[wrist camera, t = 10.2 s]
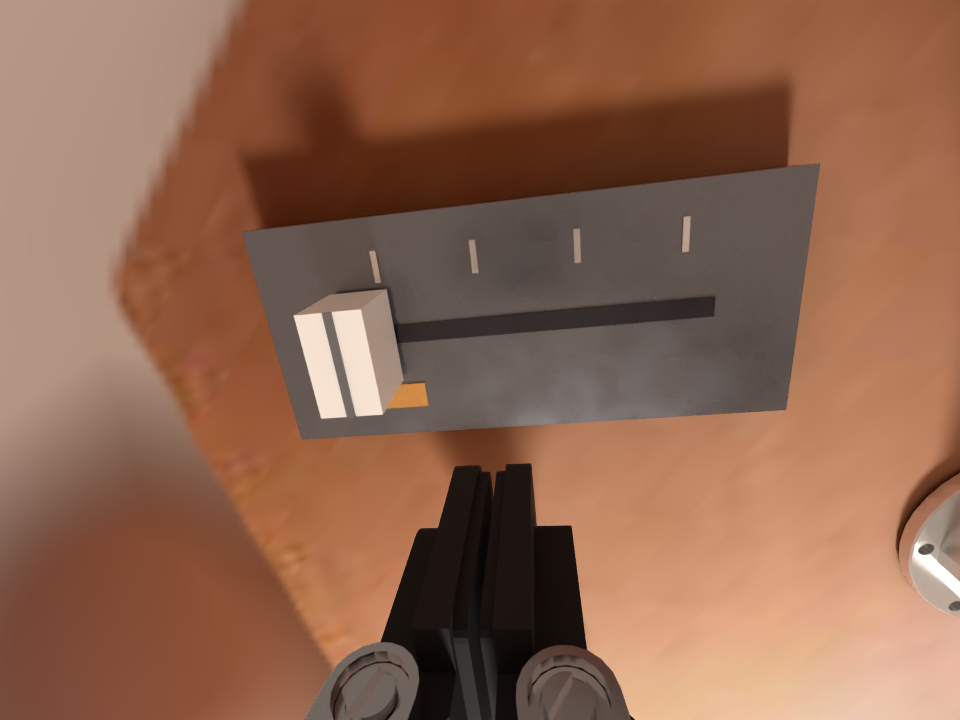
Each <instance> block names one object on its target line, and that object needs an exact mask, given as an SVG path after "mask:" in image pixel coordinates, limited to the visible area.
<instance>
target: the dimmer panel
mask: <svg viewBox="0 0 960 720" xmlns="http://www.w3.org/2000/svg"><path fill="white" fill-rule="evenodd" d="M819 168H820V164H808V165H794V166H784V167H775V168H767V169H758V170H750V171H741V172H733V173H725V174H716V175H708V176H699V177H691V178H683V179H674V180H666V181H657V182H649V183H640V184H632V185H624V186H615V187H607V188H598V189H590V190H581V191H573V192H565V193H556V194H548V195H539V196H531V197H522V198H514V199H506V200H497V201H489V202H480V203H472V204H464V205H455V206H447V207H438V208H430V209H421V210H413V211H405V212H396V213H388V214H379V215H371V216H362V217H354V218H346V219H337V220H329V221H320V222H312V223H303V224H295V225H287V226H278V227H270V228H263V229H257V230H251V231H245V232H242V234H243V238H244V241H245V244H246V248H247V251H248V255H249V258H250V262H251V265H252V269H253V272H254V276H255V279H256V283H257V286H258V289H259V293H260V296H261V300H262V303H263V307H264V310H265V314H266V317H267V321H268V324H269V328H270V331H271V334H272V338H273V341H274V345H275V348H276V352H277V355H278V359H279V362H280V366H281V369H282V373H283V376H284V379H285V383H286V386H287V390H288V393H289V397H290V400H291V404H292V407H293V411H294V414H295V418H296V421H297V424H298V428H299V431H300V435H301V438H302V439H318V438H334V437H350V436H367V435H383V434H400V433H416V432H432V431H449V430H465V429H482V428H498V427H514V426H531V425H547V424H563V423H580V422H596V421H613V420H629V419H645V418H662V417H678V416H695V415H711V414H727V413H744V412H760V411H776V410H786V407H787V399H788V392H789V385H790V378H791V370H792V363H793V356H794V349H795V342H796V334H797V327H798V320H799V313H800V305H801V298H802V291H803V284H804V276H805V269H806V262H807V255H808V248H809V240H810V233H811V226H812V219H813V211H814V204H815V197H816V190H817V182H818V175H819ZM382 289H387V294H388V299H389V305H390V310H391V315H392V321H393V326H394V331H395V336H396V342H397V347H398V352H399V358H400V363H401V368H402V374H403V379H404V380H403V382H402V384H401V385H400V387H399V389H398V390H397V392H396V394H395V395H394V397H393V399H392V400H391V402H390V404H389V406H388V407H387V409H386V411H385V412H384V414H383V415H369V416H356V417H354V418H347V417H339V418H324V419H321V416H320V412H319V409H318V405H317V401H316V397H315V394H314V390H313V386H312V382H311V379H310V375H309V371H308V367H307V364H306V360H305V356H304V352H303V349H302V345H301V341H300V337H299V334H298V330H297V326H296V322H295V319H294V315H296V314H297V313H299V312H301V311H302V310H304V309H306V308H308V307H309V306H311V305H313V304H315V303H316V302H318V301H320V300H322V299H323V298H325V297H327V296H328V295H332V294H342V293H352V292H362V291H372V290H382Z"/></svg>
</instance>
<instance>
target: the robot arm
mask: <svg viewBox="0 0 960 720" xmlns="http://www.w3.org/2000/svg"><path fill="white" fill-rule="evenodd" d="M899 561H900V566H901V571H902V572H903V574H904V576H905V578H906V579H907V581H908V583H909V584H910V585H911V586H912V587H913V588H914V589H915V590H916V591H917V592H918V593H919V594H920V595H921V597H922V598H924V599H925V600H926V601H927V602H929V603H930V604H931V605H932V606H934V607H935V608H937V609H939V610H941V611H943V612H945V613H947V614H950V615H954V616H957V617H960V473H959V474H957V475H956V476H954V477H952V478H951V479H949V480H948V481H946V482H944V483H943V484H942V485H941V486H939V487H938V488H937V489H936V490H935V491H933V492H932V493H931V494H930V495H929V496H927V497H926V498H925V500H924V501H923V502H922V503H921V504H920V505H919V506H918V508H917V509H916V510H915V511H914V512H913V514H912V516H911V517H910V519H909V521H908V523H907V524H906V526H905V528H904V531H903V534H902V537H901V540H900V544H899ZM304 720H635V719H634V718H632V717H631V716H630V715H629V712H628V709H627V705H626V702H625V699H624V696H623V693H622V690H621V687H620V685H619V683H618V681H617V679H616V677H615V675H614V673H613V672H612V670H611V669H610V668H609V667H608V666H607V665H606V664H605V663H604V662H603V660H602V659H600V658H599V657H597V656H596V655H594V654H593V653H591V652H590V651H588V650H587V647H586V639H585V631H584V623H583V615H582V607H581V599H580V591H579V583H578V575H577V567H576V558H575V550H574V542H573V534H572V527H571V526H537V523H536V512H535V500H534V488H533V477H532V466H531V463H530V464H507V465H506V471H497V474H496V482H495V491H494V497H493V489H492V481H491V474H490V472H482V470H481V466H480V465H478V466H456V467H455V468H454V471H453V475H452V479H451V482H450V486H449V490H448V493H447V497H446V501H445V504H444V508H443V512H442V515H441V519H440V523H439V526H438V528H422V529H420V530H419V531H418V532H417V534H416V537H415V540H414V543H413V546H412V549H411V552H410V555H409V558H408V561H407V564H406V567H405V570H404V573H403V576H402V579H401V582H400V585H399V588H398V591H397V594H396V597H395V600H394V603H393V606H392V609H391V612H390V615H389V618H388V621H387V624H386V627H385V630H384V633H383V636H382V639H381V642H377V643H374V644H370V645H366V646H363V647H361V648H359V649H358V650H356V651H354V652H352V653H350V654H349V655H348V656H347V657H346V658H344V659H343V660H342V661H341V662H340V663H339V664H338V665H337V666H336V667H335V669H334V670H333V671H332V673H331V674H330V675H329V677H328V678H327V680H326V682H325V683H324V685H323V687H322V689H321V691H320V692H319V694H318V696H317V698H316V699H315V701H314V703H313V705H312V707H311V708H310V710H309V712H308V714H307V716H306V718H305V719H304Z"/></svg>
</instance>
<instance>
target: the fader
mask: <svg viewBox="0 0 960 720" xmlns="http://www.w3.org/2000/svg"><path fill="white" fill-rule="evenodd" d="M294 319H295V322H296V326H297V330H298V334H299V337H300V341H301V345H302V349H303V352H304V356H305V360H306V364H307V367H308V371H309V375H310V379H311V382H312V386H313V390H314V394H315V397H316V401H317V405H318V409H319V412H320V416H321V419H324V418H339V417H347V418H354V417H356V416H369V415H383V414H384V412H385V411H386V409H387V407H388V406H389V404H390V402H391V400H392V399H393V397H394V395H395V394H396V392H397V390H398V389H399V387H400V385H401V384H402V382H403V380H404V379H403V374H402V368H401V363H400V358H399V352H398V347H397V342H396V336H395V331H394V326H393V321H392V315H391V310H390V305H389V299H388V294H387V289H382V290H372V291H362V292H352V293H342V294H332V295H328V296H327V297H325V298H323V299H322V300H320V301H318V302H316V303H315V304H313V305H311V306H309V307H308V308H306V309H304V310H302V311H301V312H299V313H297V314H296V315H294Z"/></svg>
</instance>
